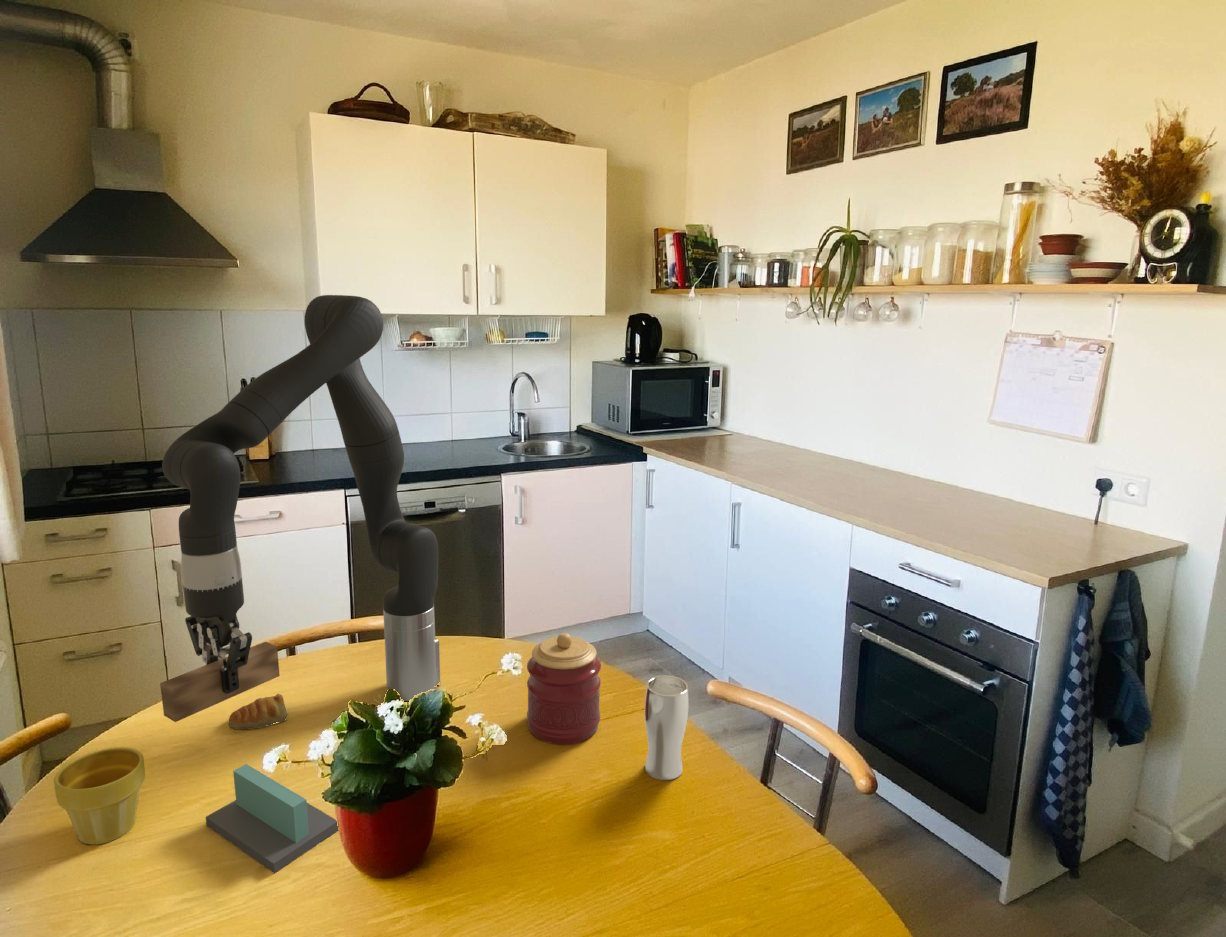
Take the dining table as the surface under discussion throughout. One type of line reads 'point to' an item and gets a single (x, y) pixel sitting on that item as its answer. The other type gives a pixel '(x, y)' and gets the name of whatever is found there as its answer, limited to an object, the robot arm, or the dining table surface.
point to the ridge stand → (270, 820)
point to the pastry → (259, 713)
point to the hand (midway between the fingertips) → (223, 686)
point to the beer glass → (665, 725)
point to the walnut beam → (216, 683)
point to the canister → (563, 690)
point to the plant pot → (101, 792)
